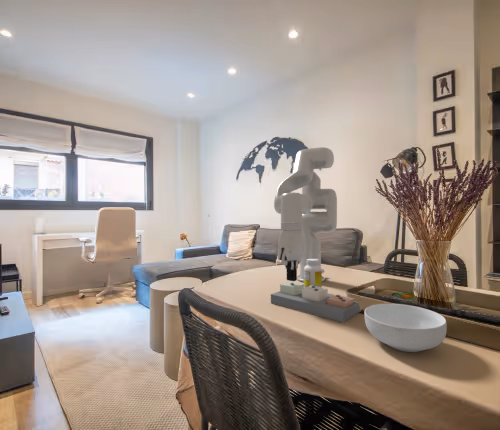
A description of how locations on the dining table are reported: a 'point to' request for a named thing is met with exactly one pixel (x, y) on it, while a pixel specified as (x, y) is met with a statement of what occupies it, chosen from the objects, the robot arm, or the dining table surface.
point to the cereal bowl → (405, 326)
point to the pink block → (340, 301)
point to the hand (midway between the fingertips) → (291, 280)
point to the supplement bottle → (312, 273)
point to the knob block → (291, 288)
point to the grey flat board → (316, 306)
